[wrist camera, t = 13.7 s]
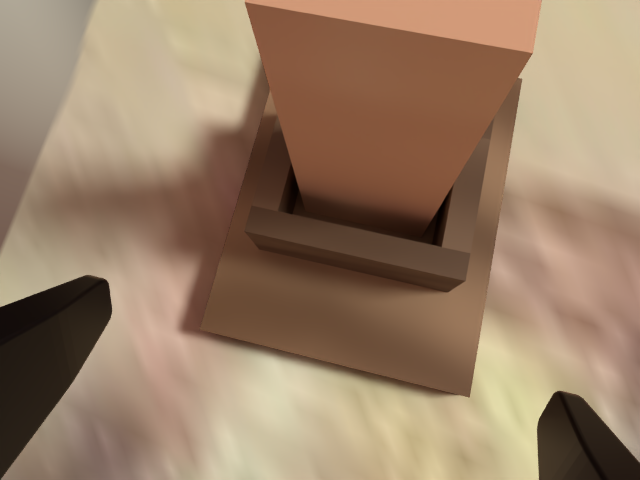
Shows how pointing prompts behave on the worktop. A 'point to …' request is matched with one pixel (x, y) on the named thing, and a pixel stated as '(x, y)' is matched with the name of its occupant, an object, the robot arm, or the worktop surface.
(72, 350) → the robot arm
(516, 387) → the worktop surface
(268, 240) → the square socket base
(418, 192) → the clay rectangular block
